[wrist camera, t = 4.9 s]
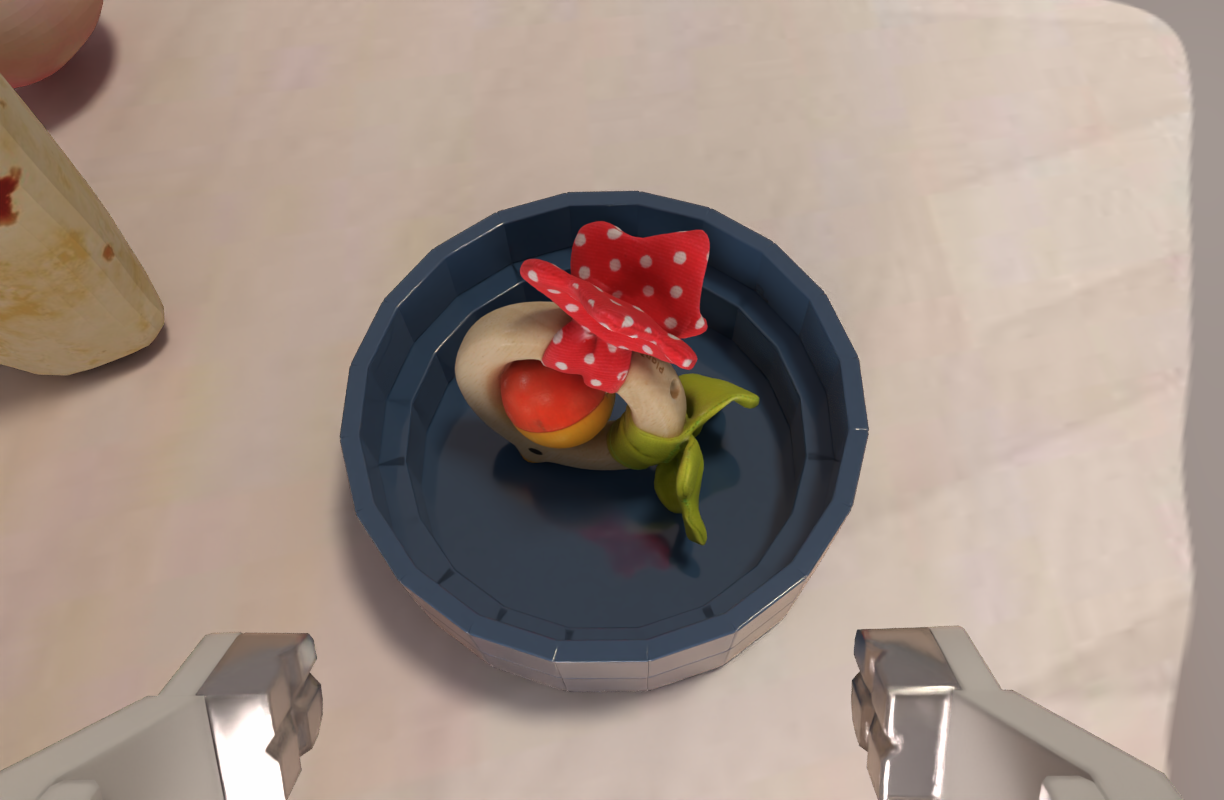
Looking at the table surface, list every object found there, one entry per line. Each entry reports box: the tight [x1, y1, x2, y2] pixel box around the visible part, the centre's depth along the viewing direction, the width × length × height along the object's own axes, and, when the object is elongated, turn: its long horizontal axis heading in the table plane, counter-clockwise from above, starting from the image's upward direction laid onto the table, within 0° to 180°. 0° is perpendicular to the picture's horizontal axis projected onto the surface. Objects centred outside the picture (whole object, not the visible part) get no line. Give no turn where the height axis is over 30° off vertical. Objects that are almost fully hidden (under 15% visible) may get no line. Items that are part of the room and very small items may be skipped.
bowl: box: [340, 191, 869, 692], centre depth 30 cm, size 16×16×5 cm
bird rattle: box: [455, 221, 759, 545], centre depth 28 cm, size 6×11×9 cm
